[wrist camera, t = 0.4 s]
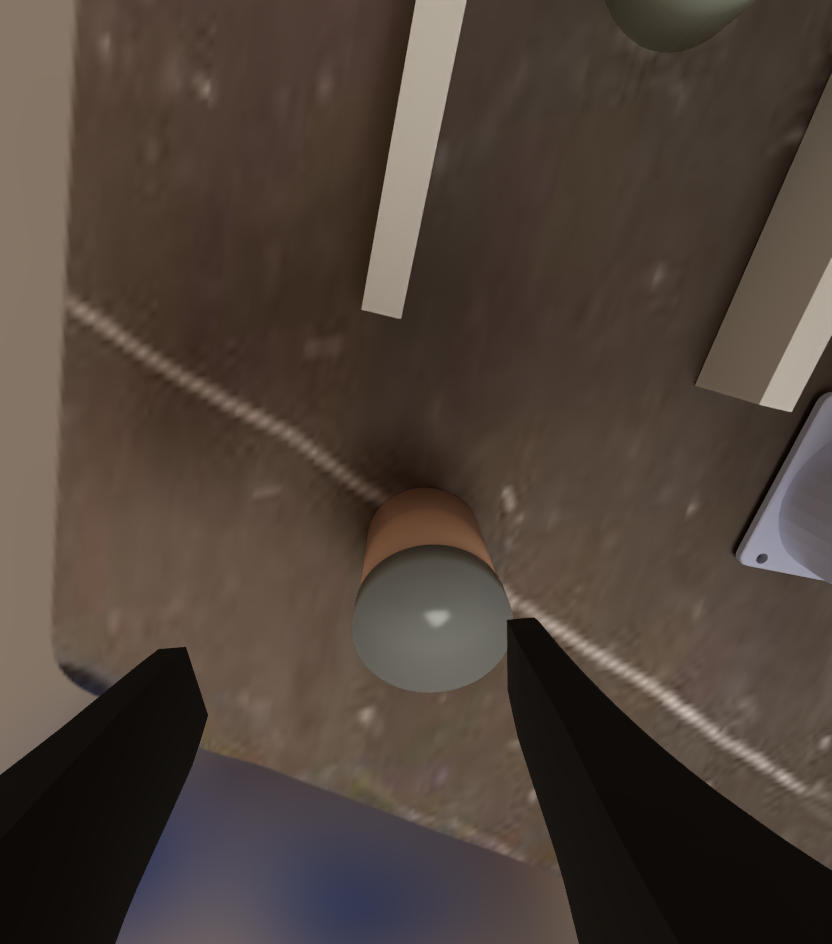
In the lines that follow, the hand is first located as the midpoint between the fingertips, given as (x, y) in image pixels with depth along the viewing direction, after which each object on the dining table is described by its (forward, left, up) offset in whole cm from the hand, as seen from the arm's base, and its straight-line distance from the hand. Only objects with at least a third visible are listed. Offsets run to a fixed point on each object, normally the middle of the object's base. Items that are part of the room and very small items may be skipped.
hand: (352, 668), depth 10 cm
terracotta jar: (-3, +2, -10) cm, 10 cm away
